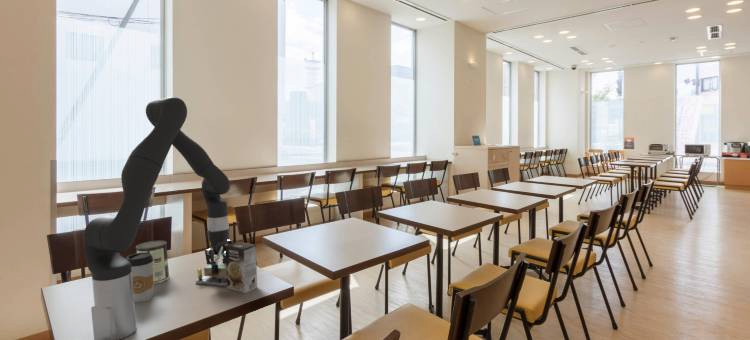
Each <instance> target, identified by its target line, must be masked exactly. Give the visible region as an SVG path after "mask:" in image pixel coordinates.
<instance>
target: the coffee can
mask: <svg viewBox="0 0 750 340" xmlns="http://www.w3.org/2000/svg"><path fill="white" fill-rule="evenodd" d="M167 244H168V242H167V241H166V240H150V241H145V242H142V243H138V244H137V245H136V246H135V249H136V253H144V252H146V253H151V256H152V257H153V285H157V284H160V283H163V282H165V281H167V280H170V272H169V261H168V260H169V259H168V247H167Z"/></svg>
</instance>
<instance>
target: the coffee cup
mask: <svg viewBox="0 0 750 340" xmlns="http://www.w3.org/2000/svg"><path fill="white" fill-rule="evenodd" d="M125 259H127V260H128V261H129V262H130V263H131V268H132V280H133V293H134V303H142V302H146V301H148V299H149V300H151V299H152V297H153V295H154V284H153V257H152V256H151V253H146V252H144V253H137V252H135V253H133V254H129V255H127V256H126V257H125Z"/></svg>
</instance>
